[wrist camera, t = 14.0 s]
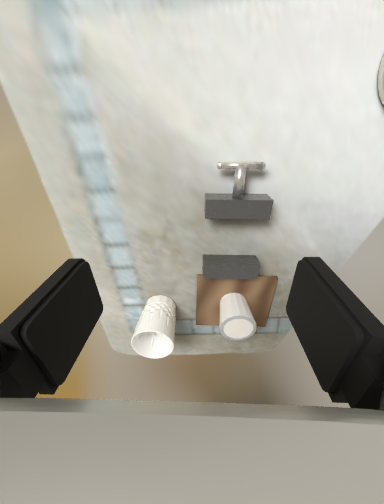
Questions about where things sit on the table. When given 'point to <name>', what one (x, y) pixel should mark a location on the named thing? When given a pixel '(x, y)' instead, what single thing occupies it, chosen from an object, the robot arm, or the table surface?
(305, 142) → the table surface
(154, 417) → the robot arm
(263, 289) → the serving board
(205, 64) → the table surface
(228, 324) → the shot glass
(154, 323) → the white cup
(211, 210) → the vise
